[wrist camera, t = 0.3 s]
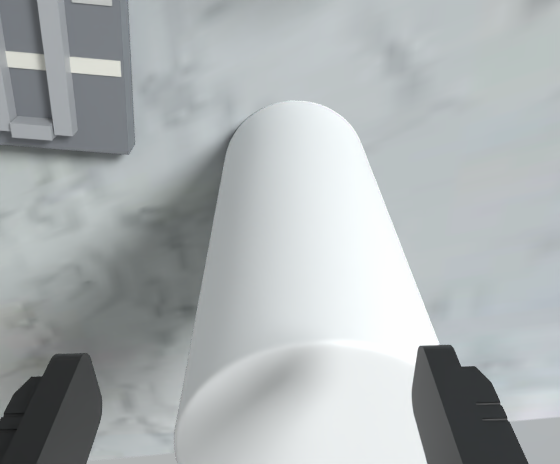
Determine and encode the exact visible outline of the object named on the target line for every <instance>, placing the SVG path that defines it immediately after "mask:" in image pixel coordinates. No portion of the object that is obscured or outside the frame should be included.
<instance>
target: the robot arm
mask: <svg viewBox="0 0 560 464" xmlns="http://www.w3.org/2000/svg"><path fill="white" fill-rule="evenodd" d="M412 407H413V413H414V417H415V421H416V424H417V428H418V432H419V435H420V439H421V443H422V446H423V450H424V453H425V457H426V461H427V464H528V462H527V459H526V457H525V455H524V453H523V451H522V449H521V447H520V444H519V442H518V440H517V438H516V435H515V433H514V431H513V429H512V427H511V424H510V422H509V421H508V420H507V416H506V413H505V411H504V409H503V407H502V406H501V405H500V400H499V398H498V396H497V394H496V391H495V389H494V387H493V385H492V383H491V382H490V381H489V380H488V379H487V378H486V377H485V376H484V375H483V374H482V373H481V372H480V371H479V370H478V369H477V368H476V367H475V366H469V367H461V365H460V363H459V360H458V358H457V355H456V353H455V351H454V348H453V347H452V346H451V345H425V346H419V348H418V351H417V357H416V364H415V371H414V377H413V384H412ZM101 415H102V397H101V393H100V389H99V386H98V382H97V379H96V375H95V372H94V368H93V365H92V361H91V358H90V356H89V355H88V354H87V353H80V354H55V355H54V356H53V357H52V358H51V360H50V362H49V364H48V366H47V368H46V370H45V373H44V375H43V377H31V378H30V379H29V380H28V381H27V382H26V383H25V384H24V385H23V386H22V387H21V388H19V389H18V390H17V391H16V392H15V393H14V395H13V397H12V398H11V400H10V402H9V404H8V406H7V408H6V410H5V412H4V417H2V418H1V419H0V464H86V463H87V460H88V457H89V454H90V451H91V448H92V445H93V442H94V439H95V436H96V433H97V430H98V427H99V424H100V420H101Z"/></svg>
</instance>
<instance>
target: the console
mask: <svg viewBox="0 0 560 464" xmlns="http://www.w3.org/2000/svg"><path fill="white" fill-rule="evenodd" d="M0 145H12V146H25V147H38V148H50V149H63V150H76V151H88V152H101V153H114V154H126V155H129V154H130V152H131V150H132V148H133V147H134V145H135V134H134V114H133V94H132V74H131V54H130V33H129V13H128V0H0Z"/></svg>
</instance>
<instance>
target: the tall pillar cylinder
mask: <svg viewBox="0 0 560 464" xmlns="http://www.w3.org/2000/svg"><path fill="white" fill-rule="evenodd" d="M425 345H440V344H439V342H438V339H437V337H436V334H435V332H434V329H433V326H432V324H431V321H430V319H429V316H428V314H427V311H426V308H425V306H424V303H423V301H422V298H421V296H420V293H419V290H418V288H417V285H416V283H415V280H414V278H413V275H412V272H411V270H410V267H409V265H408V262H407V260H406V257H405V254H404V252H403V249H402V247H401V244H400V241H399V239H398V236H397V234H396V231H395V229H394V226H393V223H392V221H391V218H390V216H389V213H388V211H387V208H386V205H385V203H384V200H383V198H382V195H381V193H380V190H379V187H378V185H377V182H376V180H375V177H374V175H373V172H372V169H371V167H370V164H369V162H368V159H367V157H366V154H365V151H364V149H363V146H362V144H361V141H360V139H359V137H358V135H357V134H356V132H355V130H354V129H353V128H352V126H351V125H350V124H349V123H348V122H347V121H346V120H345V119H344V118H343V117H342V116H341V115H339V114H338V113H336V112H335V111H333V110H331V109H330V108H328V107H325V106H323V105H320V104H317V103H313V102H308V101H284V102H279V103H275V104H272V105H269V106H267V107H265V108H262V109H260V110H259V111H257V112H255V113H254V114H252V115H251V116H250V117H249V118H247V119H246V120H245V121H244V122H243V123H242V124H241V125H240V127H239V128H238V129H237V130H236V132H235V133H234V135H233V137H232V139H231V141H230V143H229V145H228V148H227V152H226V156H225V161H224V166H223V172H222V177H221V183H220V188H219V193H218V199H217V204H216V210H215V215H214V220H213V226H212V231H211V237H210V242H209V247H208V253H207V258H206V263H205V269H204V274H203V280H202V285H201V290H200V296H199V301H198V307H197V312H196V317H195V323H194V328H193V334H192V339H191V344H190V350H189V355H188V361H187V366H186V371H185V377H184V382H183V388H182V393H181V398H180V404H179V409H178V415H177V420H176V425H175V432H174V450H175V456H176V460H177V463H178V464H427V461H426V457H425V453H424V450H423V446H422V443H421V439H420V435H419V432H418V428H417V424H416V421H415V417H414V413H413V407H412V384H413V377H414V371H415V364H416V357H417V351H418V348H419V346H425Z"/></svg>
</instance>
